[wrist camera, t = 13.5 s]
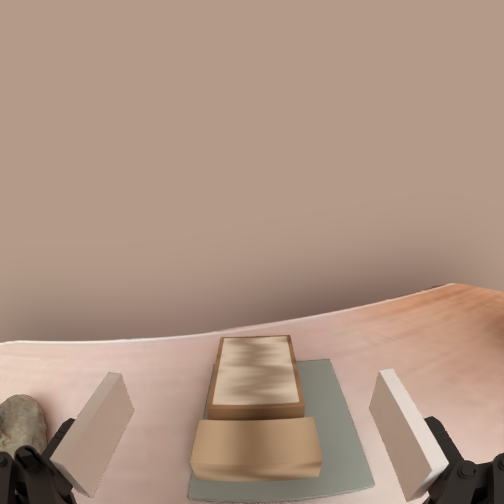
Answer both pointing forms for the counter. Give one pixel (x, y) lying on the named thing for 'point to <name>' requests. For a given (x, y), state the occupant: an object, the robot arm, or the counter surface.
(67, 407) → the counter surface
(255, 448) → the tan wooden block
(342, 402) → the mat
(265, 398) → the slab
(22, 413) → the elongated rock
